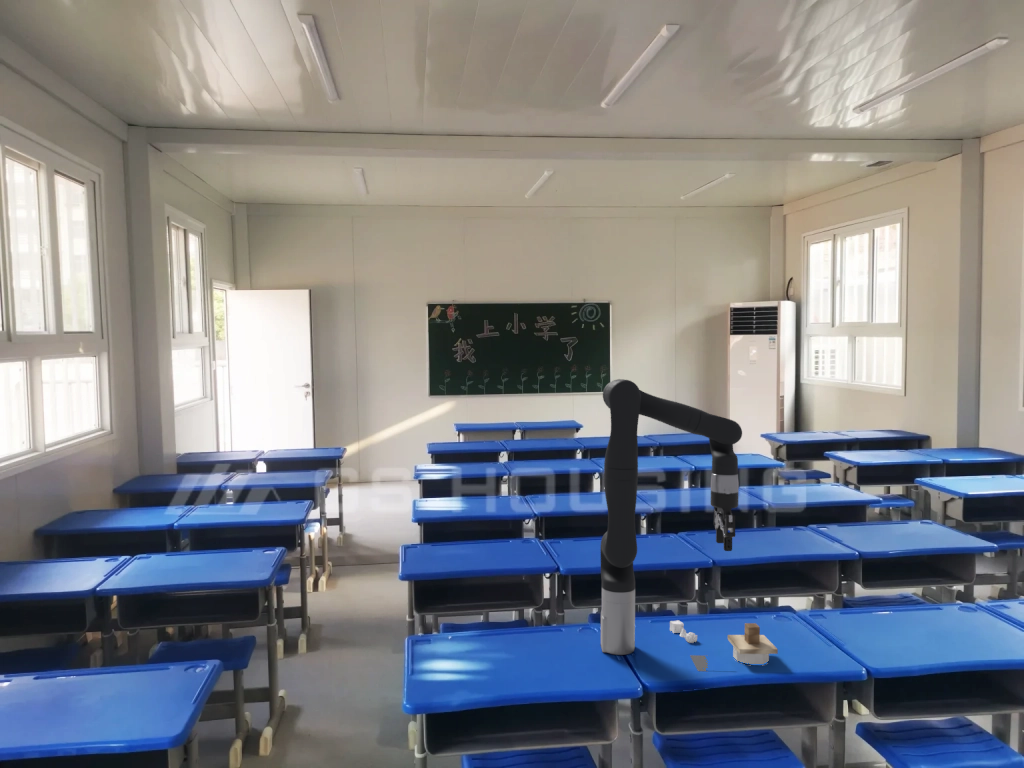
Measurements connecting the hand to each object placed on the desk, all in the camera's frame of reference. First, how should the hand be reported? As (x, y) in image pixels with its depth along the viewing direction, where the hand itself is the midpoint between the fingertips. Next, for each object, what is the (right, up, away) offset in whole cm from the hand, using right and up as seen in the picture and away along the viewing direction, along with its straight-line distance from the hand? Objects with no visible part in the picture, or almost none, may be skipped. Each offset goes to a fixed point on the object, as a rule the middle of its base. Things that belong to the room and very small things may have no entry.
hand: (723, 546), depth 202 cm
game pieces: (-10, -28, +7) cm, 31 cm away
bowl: (+5, -29, -9) cm, 30 cm away
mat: (-7, -28, -12) cm, 32 cm away
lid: (+5, -25, -10) cm, 27 cm away
